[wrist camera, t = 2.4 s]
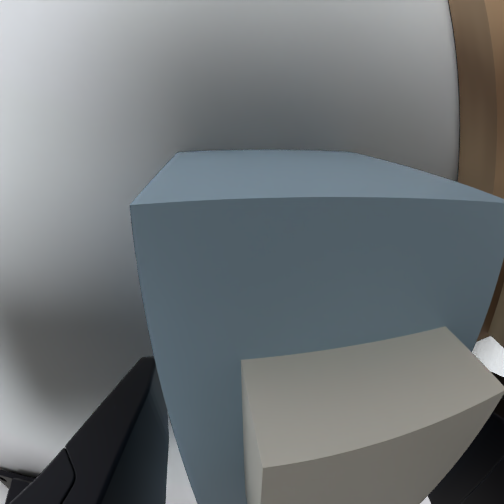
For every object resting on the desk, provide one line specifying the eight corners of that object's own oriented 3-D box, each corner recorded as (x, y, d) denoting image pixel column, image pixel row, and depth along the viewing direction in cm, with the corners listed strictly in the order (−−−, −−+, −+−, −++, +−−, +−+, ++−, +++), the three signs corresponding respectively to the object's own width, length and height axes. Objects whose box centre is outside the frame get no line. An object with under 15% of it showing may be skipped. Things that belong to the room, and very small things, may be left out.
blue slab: (312, 428, 11) (362, 564, 5) (208, 441, 11) (225, 591, 5) (348, 151, 7) (592, 240, 2) (178, 151, 7) (72, 276, 1)
